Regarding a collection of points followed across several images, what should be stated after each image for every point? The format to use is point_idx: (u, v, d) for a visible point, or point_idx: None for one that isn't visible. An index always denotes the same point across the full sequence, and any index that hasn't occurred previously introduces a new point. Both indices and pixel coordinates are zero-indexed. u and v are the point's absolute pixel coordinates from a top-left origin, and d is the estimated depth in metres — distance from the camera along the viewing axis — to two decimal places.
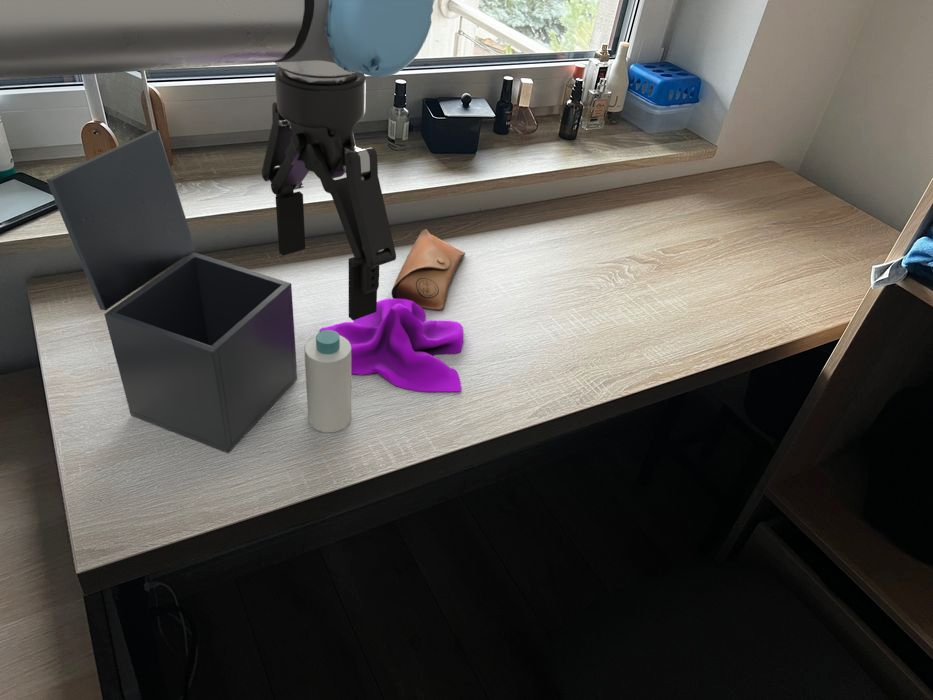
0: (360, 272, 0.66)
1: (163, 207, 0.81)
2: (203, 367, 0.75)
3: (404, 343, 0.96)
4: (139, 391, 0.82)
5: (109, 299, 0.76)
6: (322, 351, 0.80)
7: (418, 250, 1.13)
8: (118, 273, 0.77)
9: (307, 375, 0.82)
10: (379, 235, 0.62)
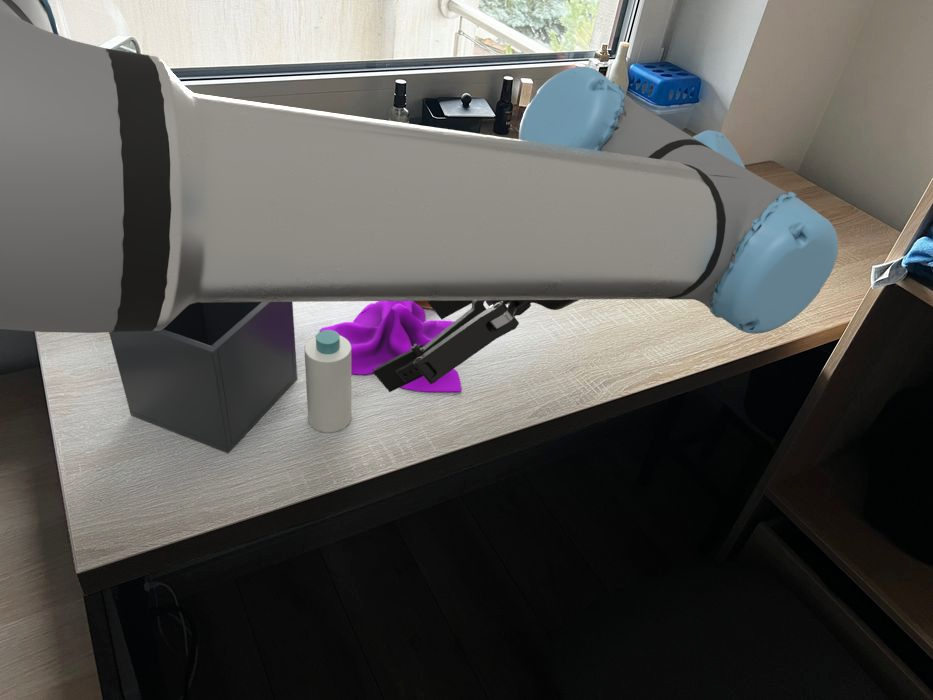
0: (412, 360, 0.67)
1: None
2: (203, 367, 0.75)
3: (404, 343, 0.96)
4: (139, 391, 0.82)
5: None
6: (322, 351, 0.80)
7: None
8: None
9: (307, 375, 0.82)
10: (444, 359, 0.64)
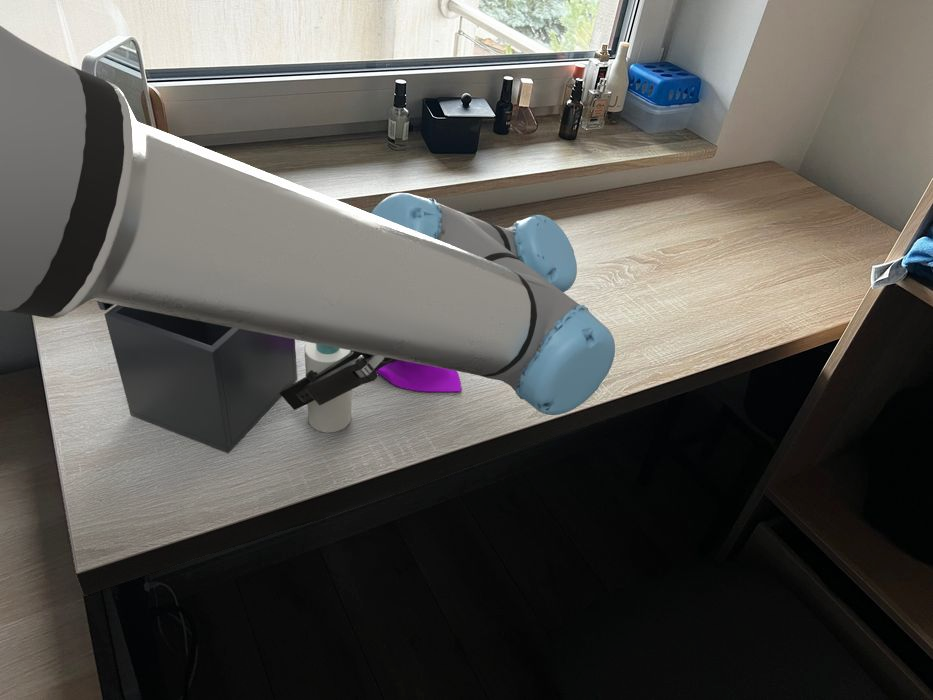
0: None
1: None
2: (203, 367, 0.75)
3: None
4: (139, 391, 0.82)
5: None
6: (322, 351, 0.80)
7: None
8: None
9: None
10: (325, 390, 0.76)
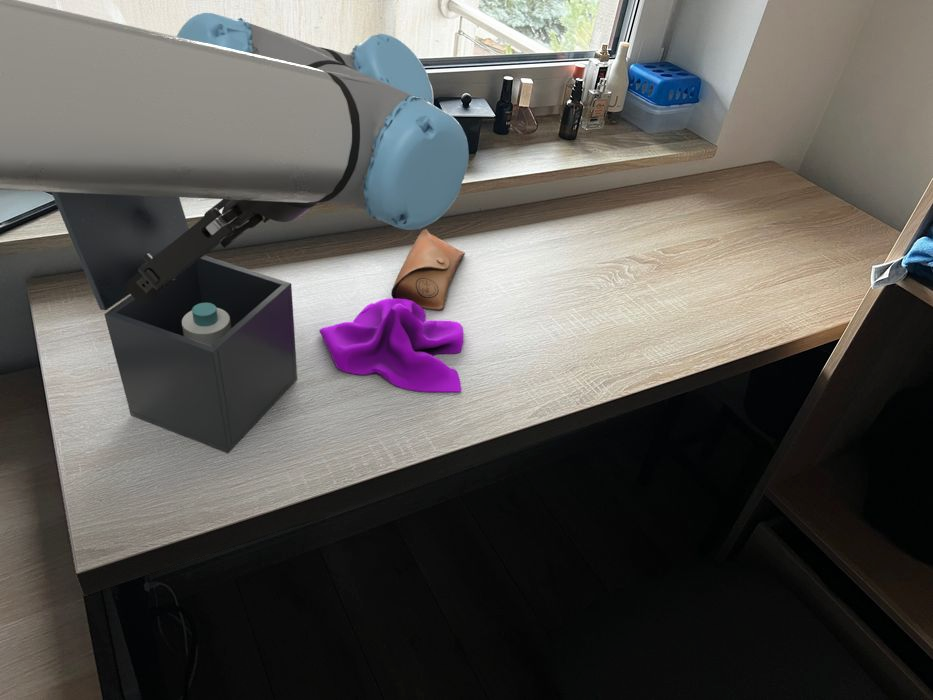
0: None
1: (163, 207, 0.81)
2: (203, 367, 0.75)
3: (404, 343, 0.96)
4: (139, 391, 0.82)
5: (109, 299, 0.76)
6: (198, 323, 0.81)
7: (418, 250, 1.13)
8: (118, 273, 0.77)
9: None
10: (165, 265, 0.66)
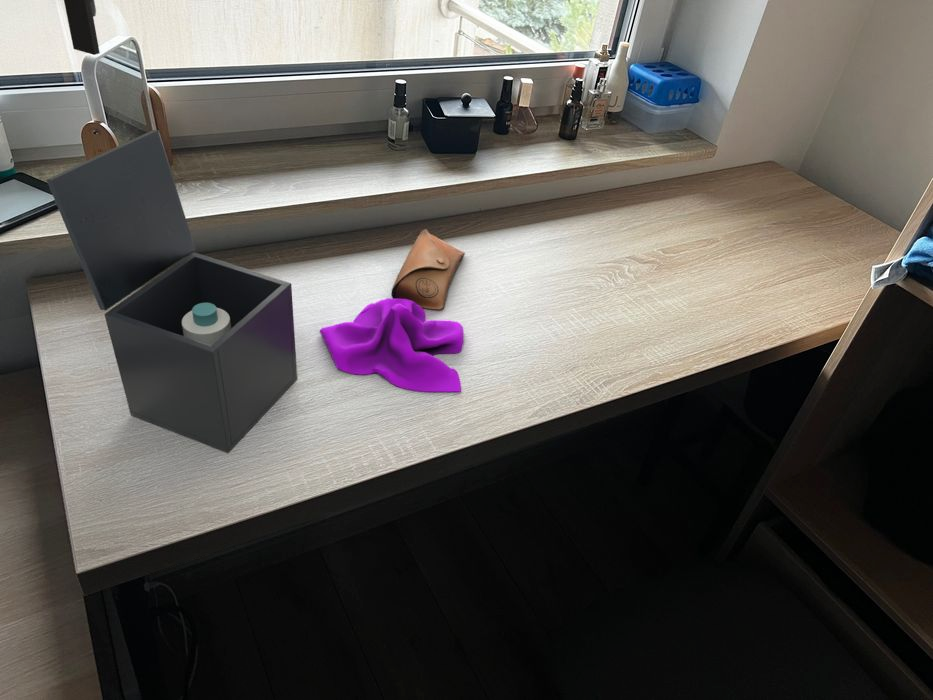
0: None
1: (163, 207, 0.81)
2: (203, 367, 0.75)
3: (404, 343, 0.96)
4: (139, 391, 0.82)
5: (109, 299, 0.76)
6: (198, 323, 0.81)
7: (418, 250, 1.13)
8: (118, 273, 0.77)
9: None
10: None
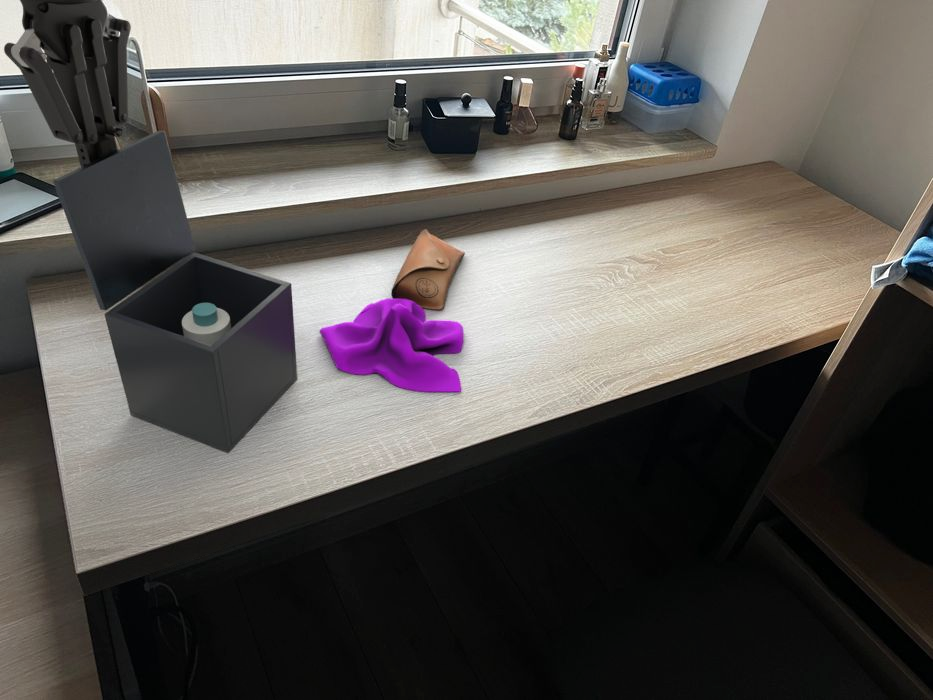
0: None
1: (166, 207, 0.81)
2: (203, 367, 0.75)
3: (404, 343, 0.96)
4: (139, 391, 0.82)
5: (109, 299, 0.76)
6: (198, 323, 0.81)
7: (418, 250, 1.13)
8: (119, 273, 0.76)
9: None
10: (54, 120, 0.68)
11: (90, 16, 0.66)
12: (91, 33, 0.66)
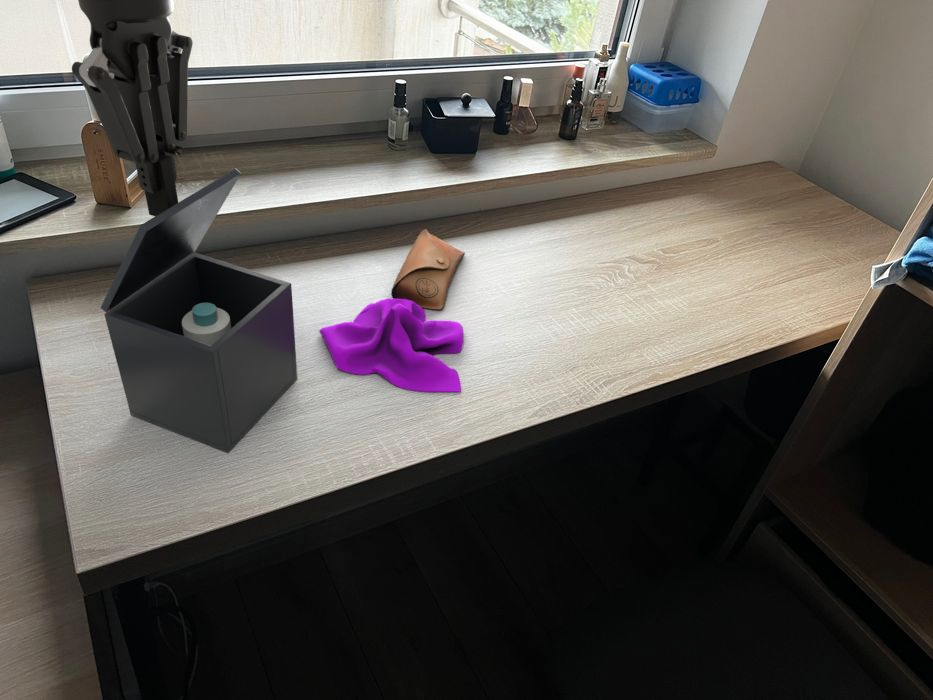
0: (143, 169, 0.71)
1: (199, 227, 0.81)
2: (203, 367, 0.75)
3: (404, 343, 0.96)
4: (139, 391, 0.82)
5: (114, 304, 0.76)
6: (198, 323, 0.81)
7: (418, 250, 1.13)
8: (134, 284, 0.77)
9: None
10: (117, 139, 0.66)
11: (155, 33, 0.65)
12: (157, 50, 0.65)
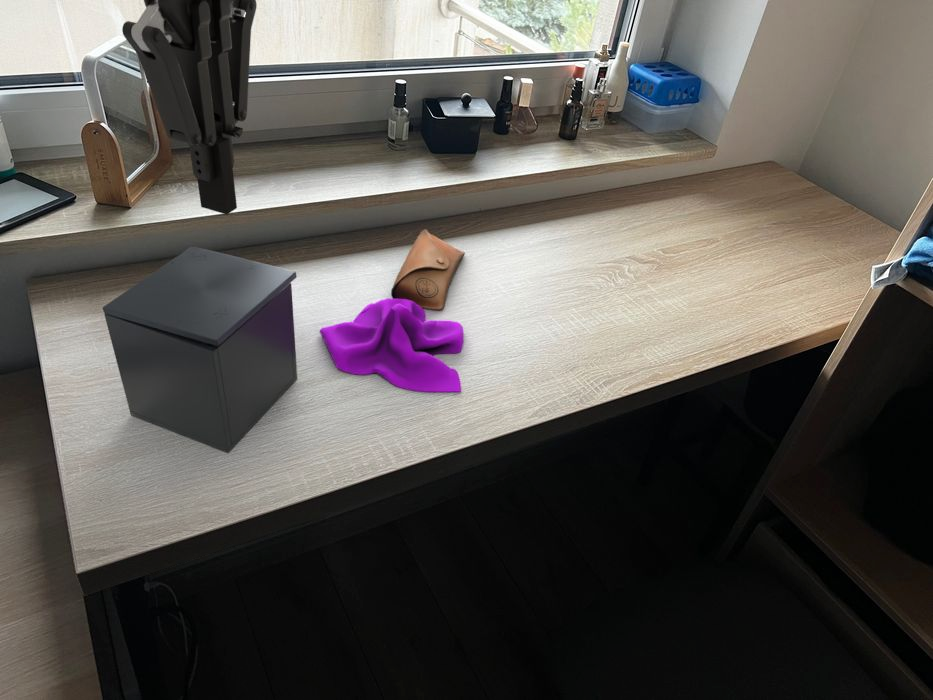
0: None
1: None
2: (203, 367, 0.75)
3: (404, 343, 0.96)
4: (139, 391, 0.82)
5: None
6: None
7: (418, 250, 1.13)
8: None
9: None
10: (171, 117, 0.56)
11: None
12: (220, 11, 0.55)
